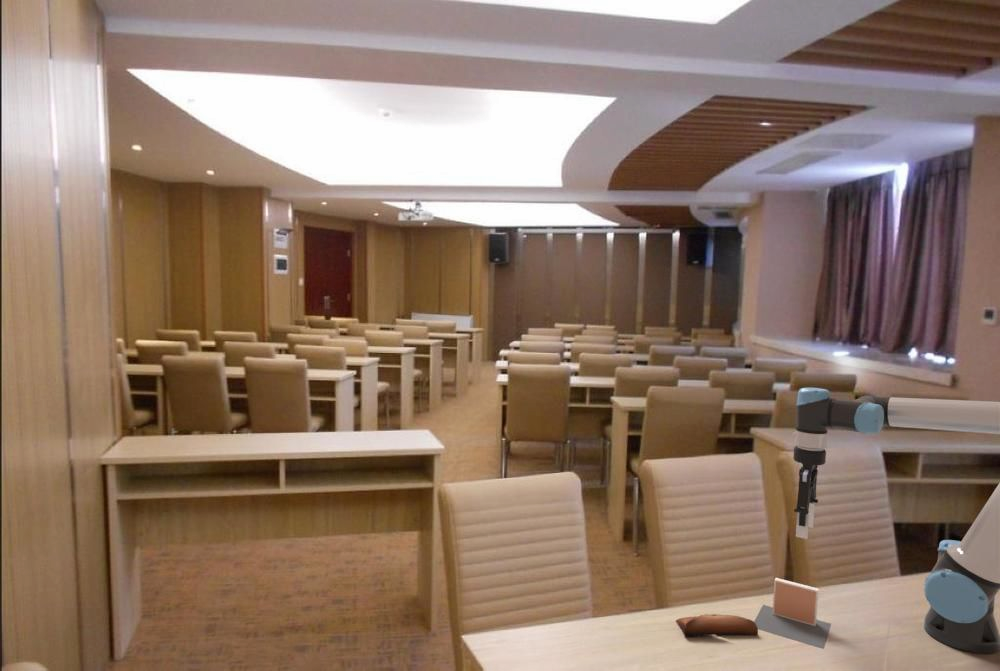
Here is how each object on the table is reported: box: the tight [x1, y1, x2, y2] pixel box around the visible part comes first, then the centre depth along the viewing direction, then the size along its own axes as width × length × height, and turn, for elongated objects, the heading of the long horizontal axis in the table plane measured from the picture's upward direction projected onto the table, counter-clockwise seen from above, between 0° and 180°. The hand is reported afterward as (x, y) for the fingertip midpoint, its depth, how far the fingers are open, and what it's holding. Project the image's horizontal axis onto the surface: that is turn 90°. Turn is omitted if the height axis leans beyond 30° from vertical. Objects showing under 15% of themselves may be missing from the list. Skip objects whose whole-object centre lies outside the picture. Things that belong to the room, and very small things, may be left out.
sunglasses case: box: [675, 613, 759, 638], centre depth 156 cm, size 18×7×7 cm, turn 94°
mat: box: [753, 604, 832, 650], centre depth 158 cm, size 16×14×1 cm
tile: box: [772, 577, 820, 626], centre depth 161 cm, size 10×2×9 cm, turn 56°
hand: (804, 531), depth 168 cm, fingers open, 9 cm apart
